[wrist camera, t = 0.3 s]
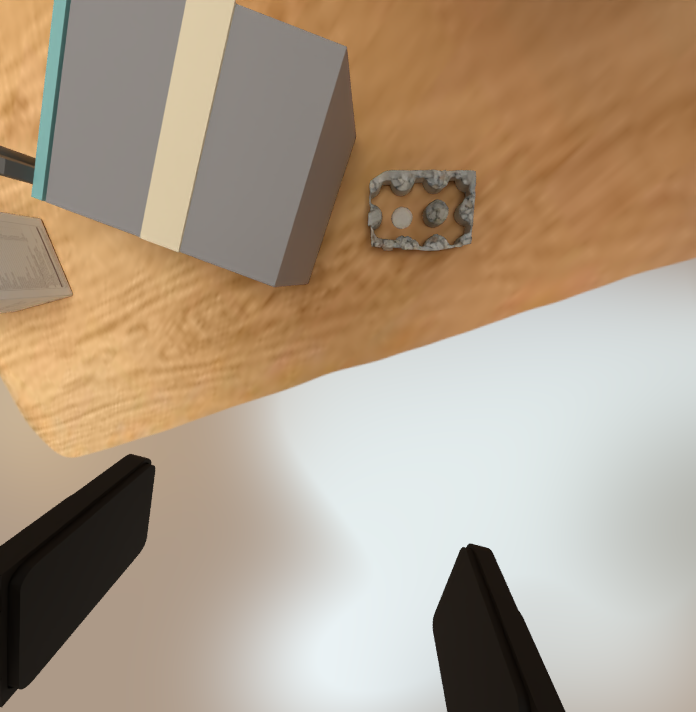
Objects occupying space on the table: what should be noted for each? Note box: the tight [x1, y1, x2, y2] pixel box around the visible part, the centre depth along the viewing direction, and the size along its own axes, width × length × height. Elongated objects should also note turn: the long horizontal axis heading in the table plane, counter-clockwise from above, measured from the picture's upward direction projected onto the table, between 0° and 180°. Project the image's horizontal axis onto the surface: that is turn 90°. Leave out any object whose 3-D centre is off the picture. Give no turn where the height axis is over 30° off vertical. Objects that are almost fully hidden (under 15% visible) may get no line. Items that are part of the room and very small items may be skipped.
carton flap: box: [0, 0, 71, 201], centre depth 28 cm, size 16×8×16 cm, turn 160°
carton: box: [46, 0, 356, 287], centre depth 30 cm, size 16×18×14 cm
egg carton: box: [368, 170, 476, 251], centre depth 35 cm, size 11×8×4 cm
